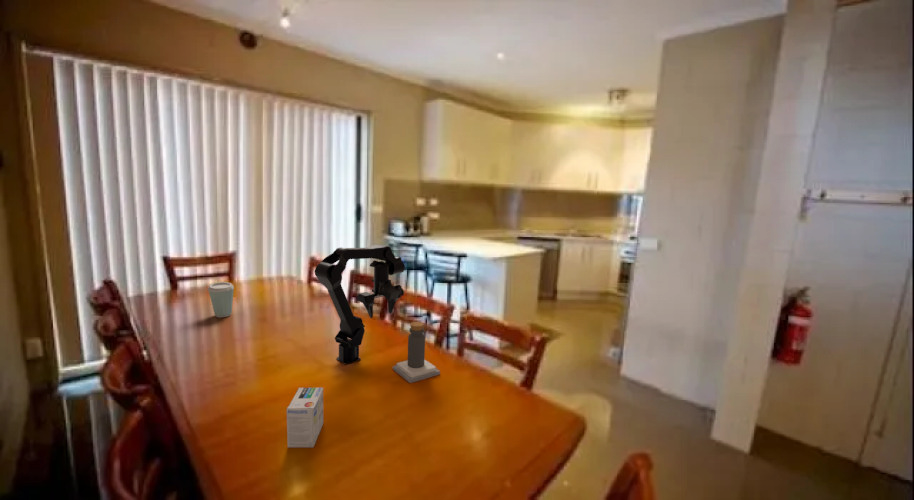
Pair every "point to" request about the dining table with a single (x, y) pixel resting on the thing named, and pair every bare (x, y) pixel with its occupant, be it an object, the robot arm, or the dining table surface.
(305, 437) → the light bulb box
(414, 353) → the bottle
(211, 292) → the disposable coffee cup
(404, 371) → the pedestal
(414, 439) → the dining table surface
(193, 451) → the dining table surface
